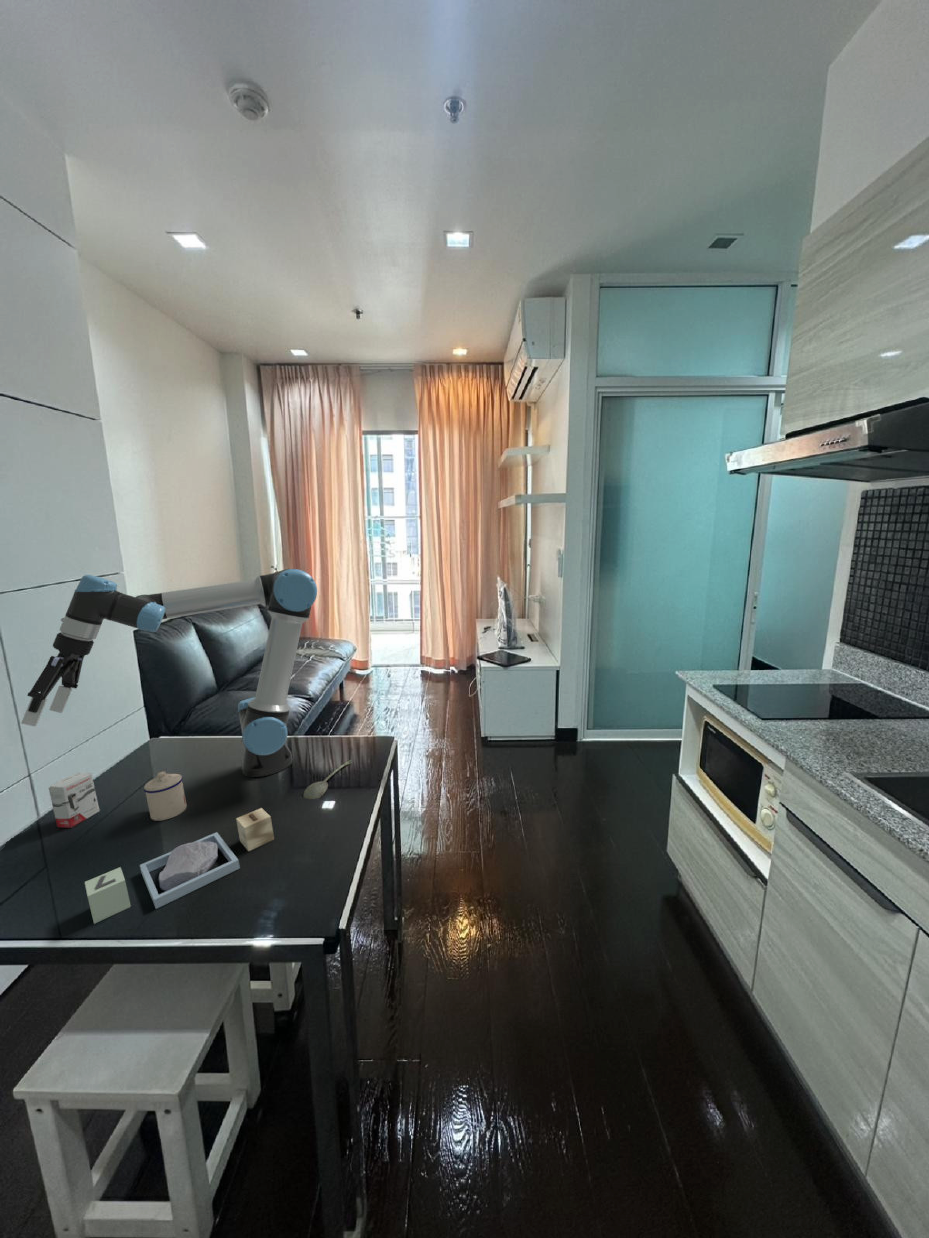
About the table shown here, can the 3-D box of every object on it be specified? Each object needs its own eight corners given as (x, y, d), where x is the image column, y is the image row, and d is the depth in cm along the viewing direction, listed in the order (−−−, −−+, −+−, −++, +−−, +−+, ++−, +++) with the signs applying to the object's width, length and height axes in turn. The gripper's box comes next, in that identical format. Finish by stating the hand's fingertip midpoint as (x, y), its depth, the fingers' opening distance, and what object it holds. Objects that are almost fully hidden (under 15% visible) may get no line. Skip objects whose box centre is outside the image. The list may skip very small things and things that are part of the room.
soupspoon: (298, 802, 136) (319, 805, 134) (297, 791, 135) (317, 794, 133) (341, 763, 156) (359, 765, 154) (339, 753, 156) (358, 755, 154)
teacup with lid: (195, 806, 136) (187, 767, 134) (162, 824, 128) (154, 783, 127) (169, 799, 142) (161, 761, 140) (136, 816, 134) (128, 776, 132)
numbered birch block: (265, 830, 122) (261, 807, 121) (274, 839, 117) (270, 815, 116) (240, 841, 118) (235, 817, 117) (248, 851, 113) (244, 826, 112)
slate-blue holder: (218, 839, 119) (216, 831, 119) (240, 868, 107) (238, 859, 107) (141, 873, 109) (139, 864, 108) (155, 908, 97) (154, 899, 96)
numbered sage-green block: (126, 892, 103) (120, 865, 102) (130, 906, 98) (124, 879, 97) (90, 908, 99) (84, 881, 98) (94, 924, 94) (87, 895, 93)
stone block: (221, 857, 115) (174, 859, 113) (222, 838, 115) (174, 840, 112) (208, 892, 104) (155, 895, 101) (209, 871, 103) (156, 874, 101)
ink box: (71, 828, 131) (61, 787, 129) (56, 827, 132) (46, 787, 130) (101, 810, 139) (92, 771, 137) (87, 810, 140) (78, 771, 138)
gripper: (80, 627, 132) (49, 702, 131) (33, 635, 109) (-5, 726, 107) (111, 636, 135) (81, 710, 133) (72, 646, 111) (35, 735, 110)
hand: (42, 717), depth 120 cm, fingers open, 13 cm apart
